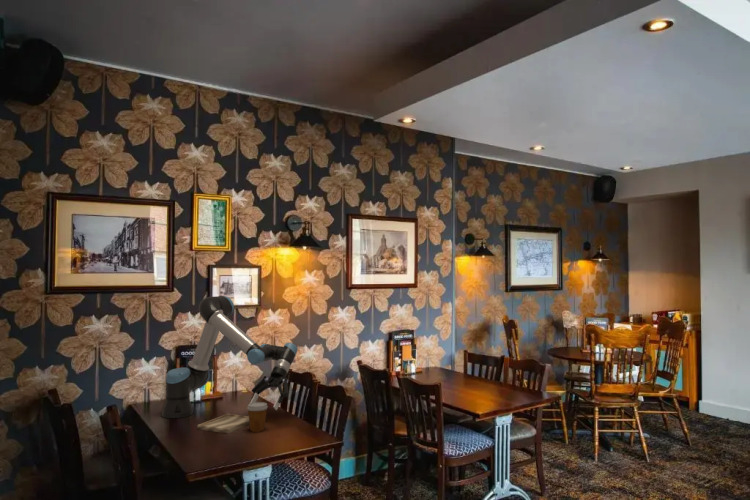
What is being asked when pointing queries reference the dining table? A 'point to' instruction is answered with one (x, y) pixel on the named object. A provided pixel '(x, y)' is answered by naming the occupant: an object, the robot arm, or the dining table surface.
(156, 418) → the dining table surface
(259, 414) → the disposable coffee cup
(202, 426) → the striped beige cloth
